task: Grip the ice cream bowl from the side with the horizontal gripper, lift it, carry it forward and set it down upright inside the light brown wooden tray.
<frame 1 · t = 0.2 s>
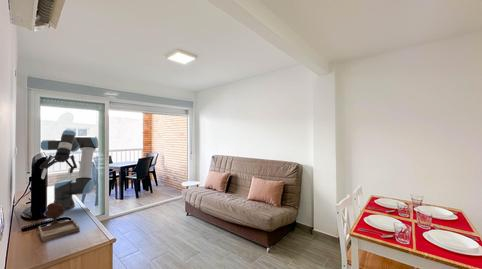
hand: (55, 178, 138), 34 cm above the table, tool tilted 35°, fingers open, 13 cm apart
light brown wooden tray: (59, 232, 135), on the table
ice cream bowl: (54, 224, 147), on the table
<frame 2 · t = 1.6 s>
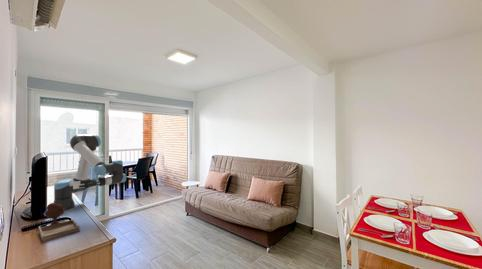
hand: (71, 185, 154), 25 cm above the table, tool horizontal, fingers open, 13 cm apart
nothing on the table moved.
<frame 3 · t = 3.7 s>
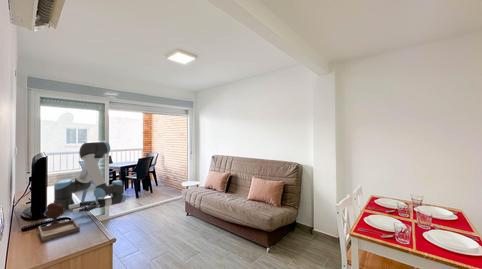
hand: (70, 209, 153), 8 cm above the table, tool horizontal, fingers open, 13 cm apart
nothing on the table moved.
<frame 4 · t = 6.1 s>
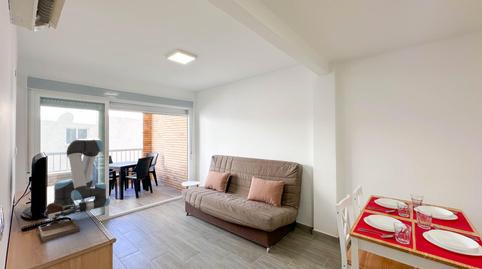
hand: (47, 214, 144), 8 cm above the table, tool horizontal, fingers closed on ice cream bowl, 11 cm apart
ice cream bowl: (54, 224, 147), on the table, touching gripper
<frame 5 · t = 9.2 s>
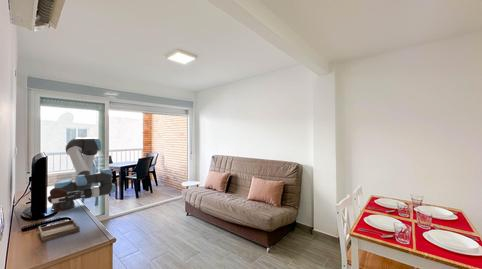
hand: (50, 199, 135), 21 cm above the table, tool horizontal, fingers closed on ice cream bowl, 11 cm apart
ice cream bowl: (58, 210, 138), point 13 cm above the table, touching gripper
when the fingers open (10 cm above the table, at t = 12.0 s): ice cream bowl drops 1 cm, resting on light brown wooden tray.
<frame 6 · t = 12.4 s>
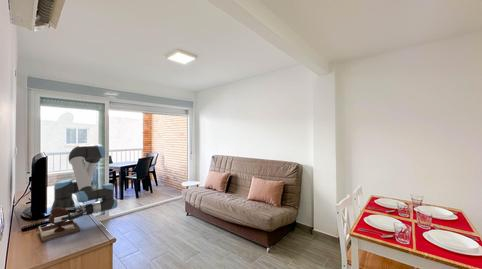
hand: (52, 217, 133), 10 cm above the table, tool horizontal, fingers open, 13 cm apart
ice cream bowl: (59, 230, 135), point 1 cm above the table, touching light brown wooden tray
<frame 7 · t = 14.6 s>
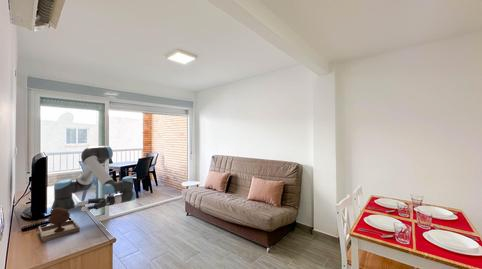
hand: (79, 206, 144), 13 cm above the table, tool horizontal, fingers open, 13 cm apart
nothing on the table moved.
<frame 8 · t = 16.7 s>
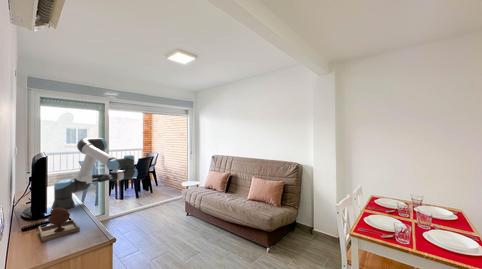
hand: (83, 180, 151), 30 cm above the table, tool horizontal, fingers open, 13 cm apart
nothing on the table moved.
at the end: ice cream bowl inside the target area on the light brown wooden tray (0.1 cm from its centre), point 0.8 cm above the light brown wooden tray's base; ice cream bowl tilted 0°; the gripper is holding nothing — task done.
